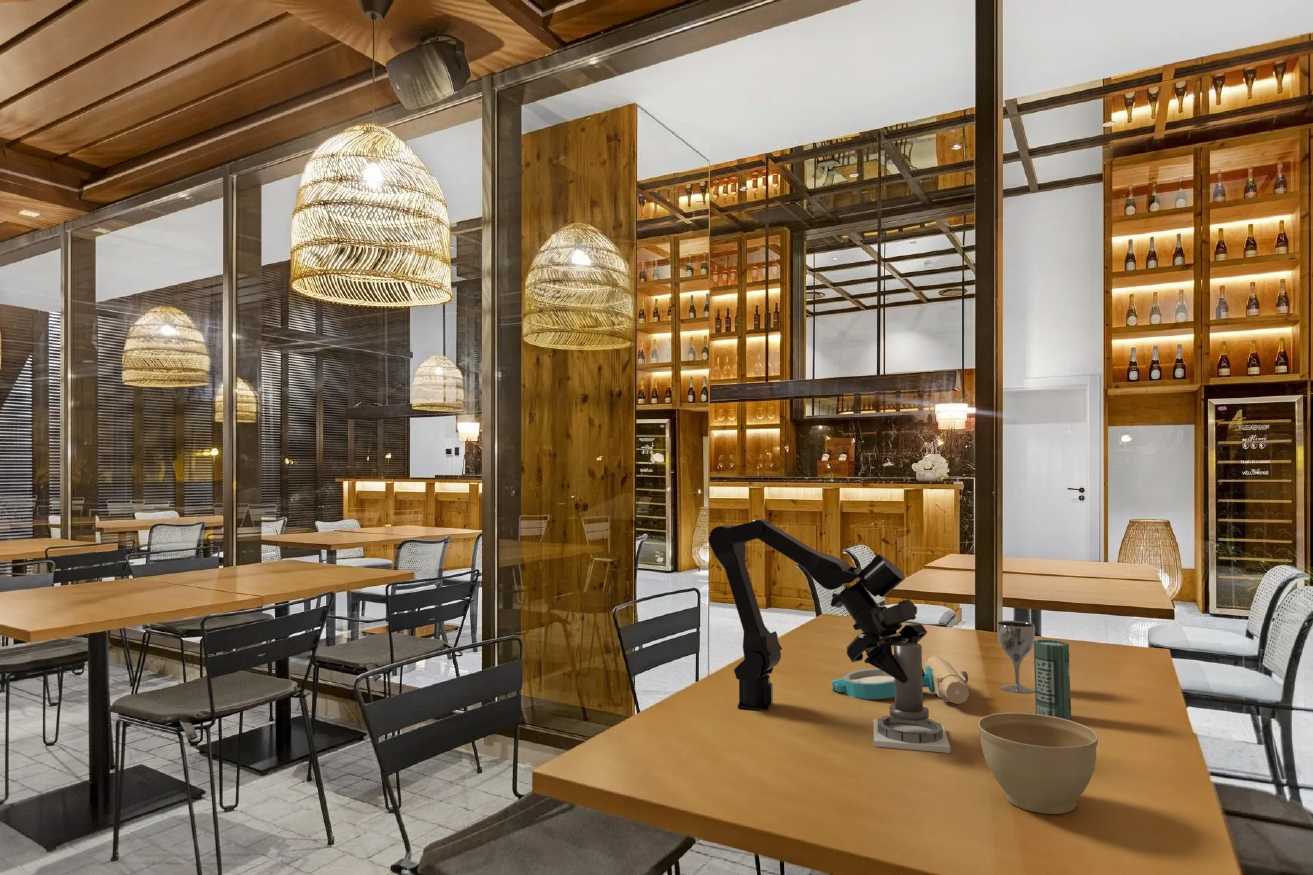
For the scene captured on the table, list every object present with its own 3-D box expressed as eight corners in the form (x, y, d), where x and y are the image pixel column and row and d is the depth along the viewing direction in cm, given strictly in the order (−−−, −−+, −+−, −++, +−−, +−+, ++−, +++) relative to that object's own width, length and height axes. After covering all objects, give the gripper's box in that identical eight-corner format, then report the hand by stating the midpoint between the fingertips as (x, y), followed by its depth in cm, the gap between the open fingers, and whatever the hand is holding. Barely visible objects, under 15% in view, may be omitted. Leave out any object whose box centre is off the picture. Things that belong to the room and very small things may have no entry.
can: (1076, 718, 154) (1074, 643, 155) (1059, 723, 151) (1056, 646, 152) (1047, 710, 159) (1045, 638, 160) (1030, 715, 156) (1028, 641, 157)
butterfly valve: (836, 720, 162) (984, 712, 156) (832, 687, 162) (979, 678, 157) (832, 687, 188) (958, 679, 183) (828, 659, 189) (954, 650, 183)
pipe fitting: (890, 718, 140) (888, 647, 141) (889, 708, 147) (887, 640, 148) (930, 722, 138) (928, 649, 139) (927, 711, 145) (925, 642, 146)
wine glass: (999, 691, 174) (997, 625, 174) (998, 683, 181) (996, 619, 182) (1038, 695, 171) (1036, 627, 172) (1035, 686, 178) (1033, 621, 179)
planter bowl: (996, 773, 125) (995, 705, 126) (1109, 798, 115) (1106, 725, 115) (965, 805, 113) (963, 730, 113) (1088, 837, 102) (1085, 754, 103)
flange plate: (874, 746, 138) (873, 732, 138) (873, 724, 150) (873, 711, 150) (950, 752, 134) (950, 738, 134) (943, 729, 147) (942, 716, 147)
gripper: (857, 590, 141) (910, 661, 132) (917, 582, 153) (969, 647, 143) (825, 626, 147) (873, 697, 138) (885, 616, 158) (933, 681, 149)
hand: (914, 679), depth 142 cm, fingers closed on pipe fitting, 5 cm apart
